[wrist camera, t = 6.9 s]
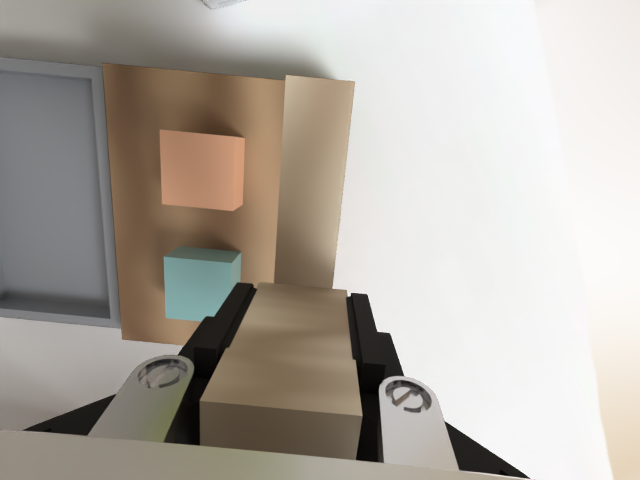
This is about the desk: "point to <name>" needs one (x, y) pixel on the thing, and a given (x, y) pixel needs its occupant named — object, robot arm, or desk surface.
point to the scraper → (296, 303)
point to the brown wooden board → (180, 221)
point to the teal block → (198, 281)
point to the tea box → (220, 3)
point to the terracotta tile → (202, 170)
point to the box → (56, 195)
